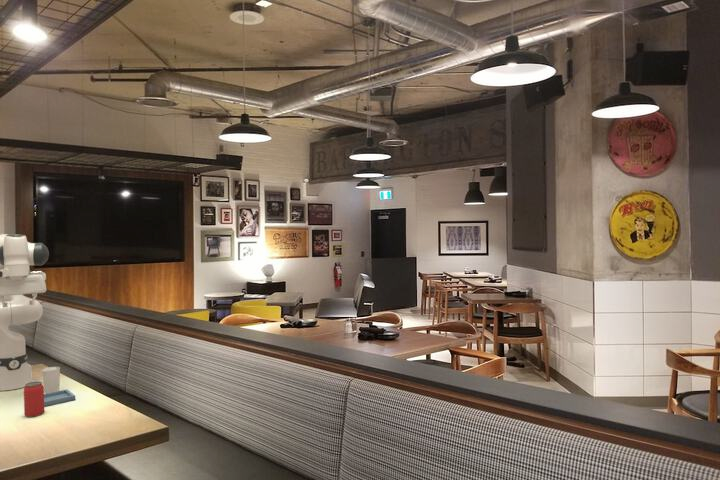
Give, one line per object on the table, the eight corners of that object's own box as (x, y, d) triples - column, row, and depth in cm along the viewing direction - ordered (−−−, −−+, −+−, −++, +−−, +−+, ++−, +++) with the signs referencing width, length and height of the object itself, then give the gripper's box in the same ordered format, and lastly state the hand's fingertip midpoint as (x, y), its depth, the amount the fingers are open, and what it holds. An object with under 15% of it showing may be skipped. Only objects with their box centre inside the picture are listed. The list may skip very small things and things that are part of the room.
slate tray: (35, 400, 216) (35, 395, 216) (67, 393, 224) (67, 389, 224) (42, 407, 207) (42, 402, 207) (75, 400, 216) (75, 395, 216)
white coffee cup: (64, 389, 231) (63, 367, 230) (51, 394, 224) (50, 371, 224) (52, 388, 232) (51, 366, 232) (39, 393, 226) (38, 370, 226)
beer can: (34, 418, 196) (33, 386, 195) (20, 417, 197) (19, 385, 197) (48, 411, 202) (47, 381, 202) (34, 411, 203) (33, 380, 203)
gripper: (47, 270, 222) (48, 303, 221) (-10, 274, 215) (-9, 308, 214) (44, 270, 216) (46, 303, 215) (-15, 274, 209) (-13, 308, 208)
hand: (18, 305), depth 214 cm, fingers open, 8 cm apart
